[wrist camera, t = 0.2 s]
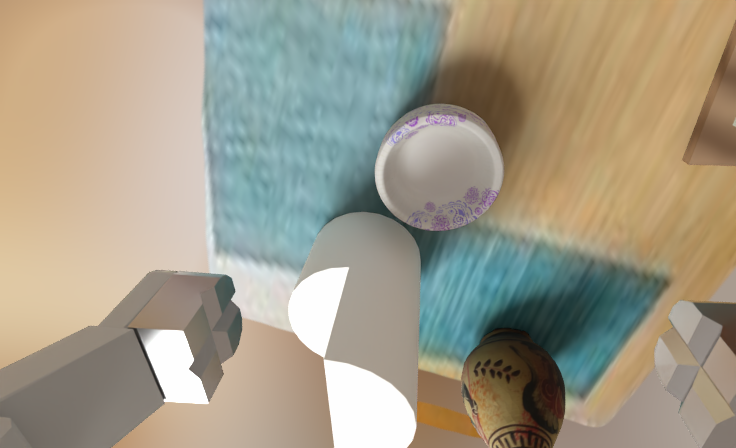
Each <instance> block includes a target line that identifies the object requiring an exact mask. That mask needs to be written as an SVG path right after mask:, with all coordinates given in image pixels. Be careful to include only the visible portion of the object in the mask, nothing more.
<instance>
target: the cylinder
mask: <svg viewBox="0 0 736 448" xmlns="http://www.w3.org/2000/svg"><path fill="white" fill-rule="evenodd" d="M420 277H421V259H420V250H419V248H418V246H417V243H416V241H415V239H414V238H413V236H412V235H411V234H410V233H409V232H408V231H407V229H406V228H405V227H403V226H402V225H400V224H399V223H398V222H396V221H395V220H393V219H391V218H388V217H386V216H383V215H381V214H376V213H369V212H355V213H348V214H345V215H342V216H339V217H336V218H335V219H333V220H332V221H330V222H329V223H327V224H326V225H325V226H324V227H323V228H322V230H321V231H320V232H319V233H318V235H317V237H316V239H315V242H314V244H313V246H312V249H311V251H310V253H309V256H308V258H307V260H306V263H305V265H304V267H303V270H302V272H301V274H300V277H299V279H298V281H297V284H296V286H295V288H294V291H293V293H292V296H291V299H290V301H289V319H290V322H291V325H292V328H293V330H294V331H295V333H296V334H297V336H298V337H299V339H300V340H301V341H302V342H303V343H304V344H305V345H306V346H308V347H309V348H310V349H311V350H312V351H314V352H315V353H318V354H319V355H321V356H322V357H324V366H325V374H326V382H327V390H328V398H329V406H330V413H331V422H332V430H333V438H334V447H335V448H407V447H408V445H409V444H410V443H411V441H412V440H413V437H414V433H415V430H416V421H417V385H418V349H419V313H420Z"/></svg>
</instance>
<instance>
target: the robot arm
mask: <svg viewBox="0 0 736 448" xmlns="http://www.w3.org/2000/svg"><path fill="white" fill-rule="evenodd" d="M235 292H236V291H235V288H234V284H233V281H232V278H231V277H229V276H227V275H222V274H210V273H196V272H184V271H179V272H177V271H166V270H155V271H152V272H149V273H148V274H147V275H146V276H145V277H144V278H143V279H142V280H141V281H140V282H139V284H137V285H136V286H135V288H134V289H133V290H132V291H131V292H130V293H129V294H128V295H127V296H126V297H125V298H124V299H123V300H122V301H121V302H120V303H119V304H118V306H117V307H115V309H114V310H113V311H112V312H111V313H110V314H109V315H108V316H107V317H106V318H105V319H104V320H103V321H102V322H101V323H100V324H99V325H98V326H88V327H86V328H84V329H82V330H80V331H78V332H76V333H74V334H72V335H70V336H68V337H66V338H64V339H62V340H60V341H57V342H55V343H53V344H51V345H49V346H48V347H45V348H43V349H41V350H40V351H37V352H35V353H33V354H31V355H29V356H27V357H25V358H23V359H21V360H19V361H17V362H15V363H12V364H10V365H9V366H7V367H4V368H2V369H1V370H0V448H111V447H113V446H114V445H115V444H116V443H117V442H119V441H120V440H121V439H122V438H123V437H125V436H126V435H127V434H128V433H129V432H131V431H132V430H133V429H134V428H135V427H137V426H138V425H139V424H140V423H142V422H143V421H144V420H145V419H146V418H148V417H149V416H150V415H151V414H152V413H154V412H155V411H156V410H157V409H159V408H160V407H161V406H162V405H163V404H164V403H165V402H164V401H175V402H191V403H207V404H208V403H209V401H210V399H211V398H212V395H213V394H214V392H215V390H216V388H217V386H218V384H219V382H220V380H221V378H222V376H223V374H224V373H223V370H222V366H221V364H222V363H223V362H224V361H226V360H227V359H229V358H230V357H232V356H233V355H234V353H235V351H236V349H237V347H238V345H239V341H240V336H241V332H242V317H241V312H240V309H239V308H238V307H237V306H236V305H235V304H234V303H233V302H232V301H231V298H232V297H233V295H234V293H235ZM668 318H669V320H670V322H671V323H672V325H673V328H671V329H670V330H668V331H667V332H665V333H664V334H662V335H661V336H660V337H659V340H658V342H657V345H656V347H655V367H656V370H657V374H658V377H659V379H660V381H661V383H662V385H663V386H664V388H665V390H667V391H668V392H669V393H670V394H672V395H673V396H674V397H676V398H677V399H678V400H680V401H681V406H680V409H679V414H680V416H681V418H682V420H683V421H684V423H685V425H686V427H687V428H688V430H689V432H690V433H691V435H692V437H693V439H694V440H695V442H696V444H697V446H698V447H699V448H736V303H730V302H711V301H692V300H680V301H679V302H678V303H677V304H675V305H674V306H673V308H672V310H671V312H670V315H669V317H668Z"/></svg>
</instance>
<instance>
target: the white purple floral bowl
mask: <svg viewBox="0 0 736 448" xmlns="http://www.w3.org/2000/svg"><path fill="white" fill-rule="evenodd" d="M503 178H504V162H503V157H502V153H501V151H500V148H499V146H498V143H497V141H496V138H495V136H494V135H493V133H492V131H491V129H490V128H489V127H488V125H487V124H486V122H485V121H484V120H483V119H482V118H480V117H479V116H478V115H477V114H475V113H474V112H472V111H470V110H467V109H465V108H463V107H460V106H456V105H451V104H431V105H425V106H422V107H419V108H416V109H414V110H412V111H410V112H408V113H407V114H406V115H404V116H403V117H401V118H400V119H399V120H398V121H396V122H395V123H394V124H393V125H392V127H391V128H390V129H389V131H388V132H387V133H386V135H385V137H384V139H383V141H382V143H381V146H380V149H379V152H378V156H377V160H376V164H375V182H376V186H377V190H378V192H379V195H380V197H381V199H382V201H383V202H384V204H385V205H386V207H387V208H388V209H389V210H390V211H391V212H392V213H393V214H394V215H395V216H396V217H397V218H399V219H400V220H401V221H403V222H405V223H407V224H409V225H411V226H413V227H416V228H419V229H424V230H430V231H445V230H451V229H455V228H459V227H462V226H464V225H466V224H469V223H471V222H473V221H474V220H476V219H477V218H479V217H480V216H481V215H482V214H483V213H485V212H486V211H487V210H488V209H489V207H490V206H491V205H492V204H493V202H494V201H495V199H496V197H497V196H498V194H499V192H500V189H501V186H502V183H503Z"/></svg>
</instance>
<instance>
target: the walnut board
mask: <svg viewBox="0 0 736 448" xmlns="http://www.w3.org/2000/svg"><path fill="white" fill-rule="evenodd" d="M735 118H736V22H735V24H734V27H733V29H732V32H731V35H730V37H729V40H728V42H727V45H726V48H725V50H724V53H723V55H722V58H721V61H720V63H719V66H718V68H717V71H716V74H715V76H714V79H713V81H712V84H711V87H710V89H709V92H708V94H707V97H706V100H705V102H704V105H703V107H702V110H701V113H700V115H699V118H698V120H697V123H696V126H695V128H694V131H693V133H692V136H691V139H690V141H689V144H688V146H687V149H686V152H685V154H684V157H683V159H682V160H683V161H684V162H686V163H687V164H688V165H721V166H736V127H735V126H733V123H734V121H735Z"/></svg>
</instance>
